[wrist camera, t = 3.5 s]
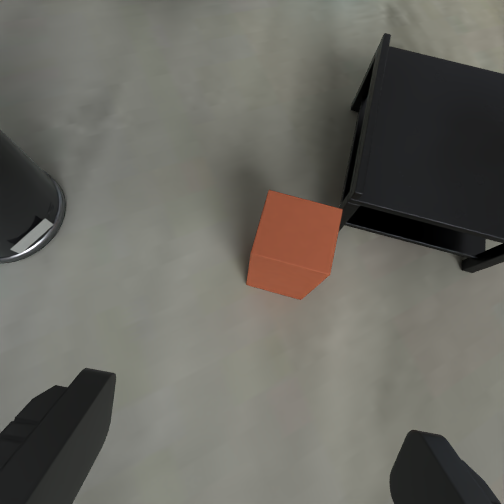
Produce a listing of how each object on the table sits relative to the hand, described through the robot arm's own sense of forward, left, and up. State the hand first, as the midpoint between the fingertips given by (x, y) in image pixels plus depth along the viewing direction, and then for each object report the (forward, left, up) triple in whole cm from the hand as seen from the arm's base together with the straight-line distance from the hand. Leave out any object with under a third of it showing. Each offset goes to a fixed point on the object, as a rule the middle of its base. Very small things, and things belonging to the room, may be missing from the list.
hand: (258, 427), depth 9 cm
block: (-1, +10, -18) cm, 20 cm away
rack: (+7, +24, -18) cm, 31 cm away
